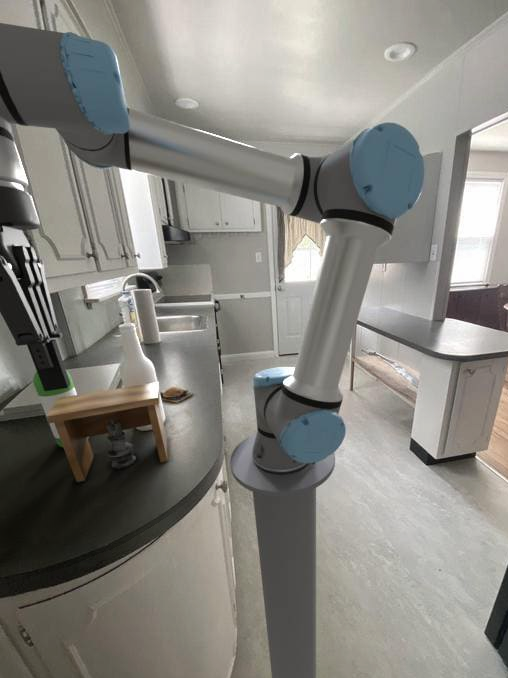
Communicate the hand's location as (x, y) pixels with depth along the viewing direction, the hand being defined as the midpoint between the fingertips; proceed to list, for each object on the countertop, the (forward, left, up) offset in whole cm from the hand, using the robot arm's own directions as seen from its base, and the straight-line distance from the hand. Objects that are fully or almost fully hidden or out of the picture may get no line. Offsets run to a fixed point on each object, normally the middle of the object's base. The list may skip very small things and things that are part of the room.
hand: (58, 387), depth 42 cm
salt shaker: (+13, -21, -30) cm, 39 cm away
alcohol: (+17, -39, -30) cm, 52 cm away
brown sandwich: (+19, -58, -30) cm, 68 cm away
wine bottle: (+33, -28, -30) cm, 52 cm away
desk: (+13, -22, -29) cm, 39 cm away
